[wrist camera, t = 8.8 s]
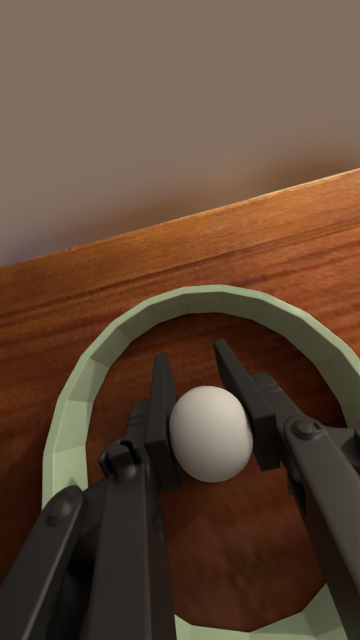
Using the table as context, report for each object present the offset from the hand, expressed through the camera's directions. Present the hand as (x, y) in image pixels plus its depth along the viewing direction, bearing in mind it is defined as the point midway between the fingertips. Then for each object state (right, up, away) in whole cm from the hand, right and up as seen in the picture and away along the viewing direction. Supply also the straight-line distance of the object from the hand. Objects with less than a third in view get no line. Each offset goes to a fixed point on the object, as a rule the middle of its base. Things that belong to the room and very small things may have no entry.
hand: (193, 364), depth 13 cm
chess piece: (+1, -5, +1) cm, 5 cm away
